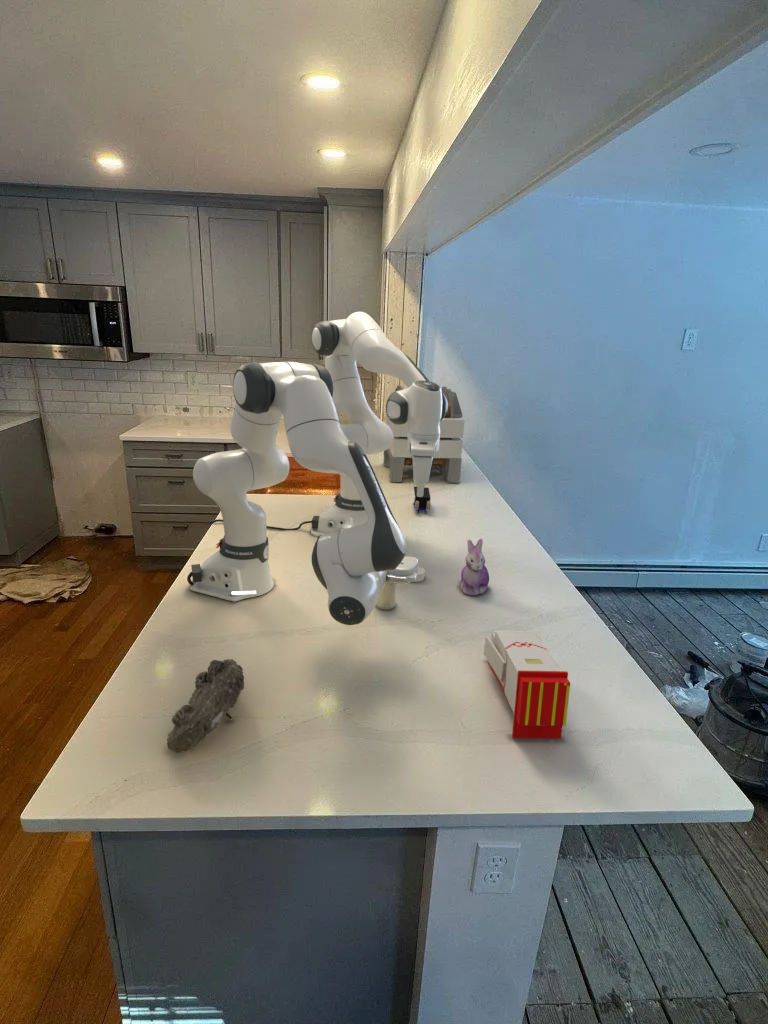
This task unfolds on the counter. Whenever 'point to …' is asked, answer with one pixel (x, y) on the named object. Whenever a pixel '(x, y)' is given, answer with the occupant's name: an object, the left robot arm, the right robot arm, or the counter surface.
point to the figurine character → (422, 500)
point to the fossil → (206, 705)
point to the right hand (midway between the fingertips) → (420, 491)
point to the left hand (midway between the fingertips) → (379, 551)
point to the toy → (529, 683)
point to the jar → (387, 596)
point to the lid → (419, 575)
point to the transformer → (448, 448)
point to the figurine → (474, 571)
